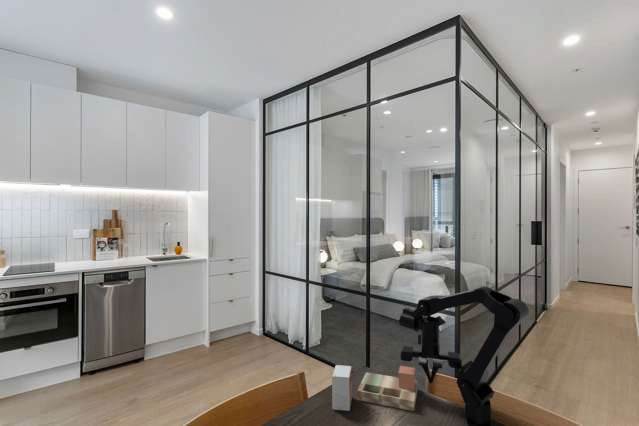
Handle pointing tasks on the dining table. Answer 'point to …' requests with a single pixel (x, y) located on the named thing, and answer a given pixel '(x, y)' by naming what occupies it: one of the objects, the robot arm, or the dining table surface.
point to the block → (406, 377)
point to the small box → (342, 388)
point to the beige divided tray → (386, 392)
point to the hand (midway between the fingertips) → (430, 382)
